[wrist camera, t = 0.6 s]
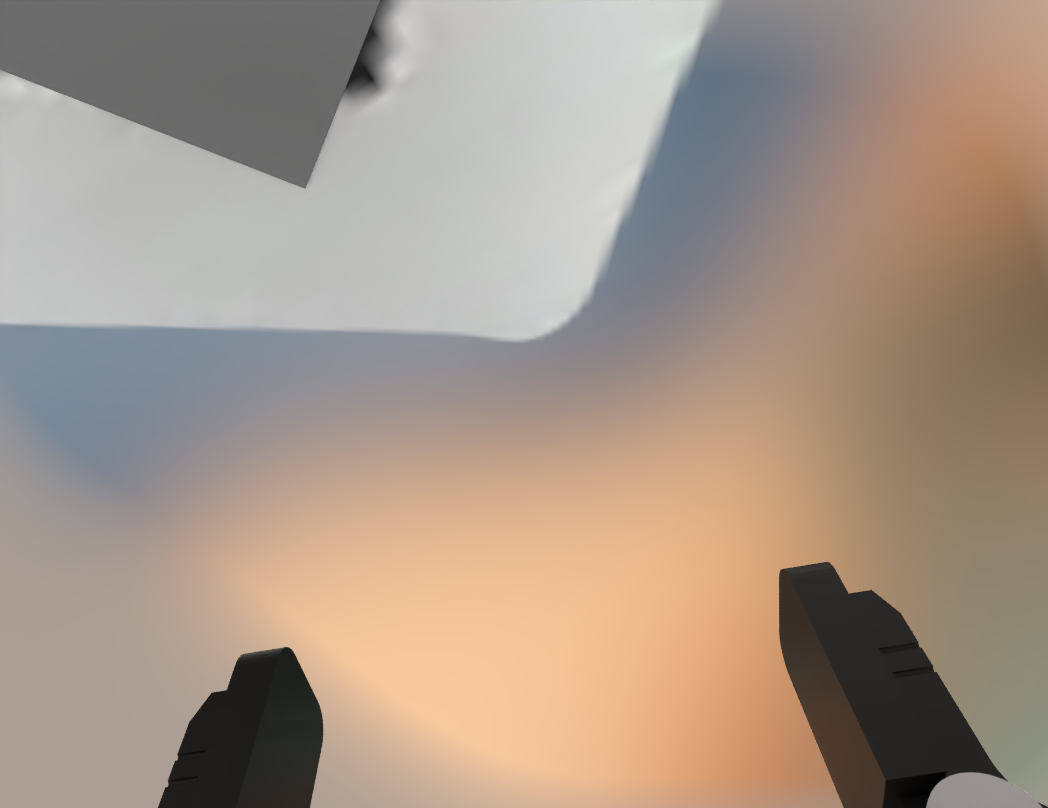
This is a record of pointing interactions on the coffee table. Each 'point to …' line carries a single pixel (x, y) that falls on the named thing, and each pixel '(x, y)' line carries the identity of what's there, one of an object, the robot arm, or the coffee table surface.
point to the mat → (199, 68)
